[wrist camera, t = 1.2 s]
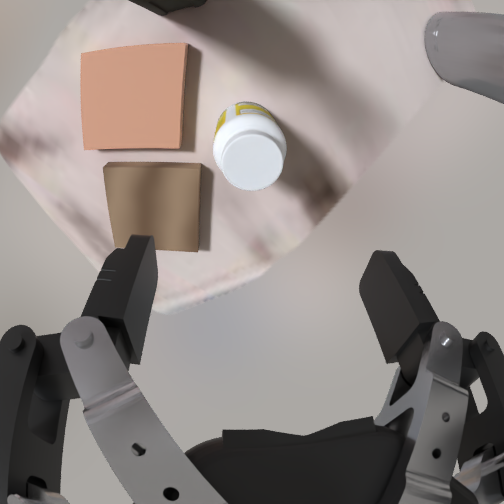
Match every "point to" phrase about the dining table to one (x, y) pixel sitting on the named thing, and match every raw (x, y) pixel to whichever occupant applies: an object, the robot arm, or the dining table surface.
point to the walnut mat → (154, 203)
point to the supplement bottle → (249, 146)
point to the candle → (167, 5)
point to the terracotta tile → (133, 96)
